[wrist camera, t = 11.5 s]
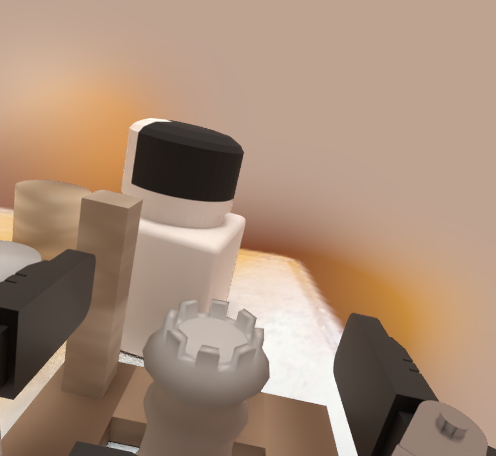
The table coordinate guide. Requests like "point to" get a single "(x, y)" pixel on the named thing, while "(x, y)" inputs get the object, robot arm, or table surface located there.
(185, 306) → the rook chess piece
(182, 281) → the medicine bottle
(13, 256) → the short grey peg
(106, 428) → the hole board
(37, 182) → the medium beech peg
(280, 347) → the table surface
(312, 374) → the table surface
